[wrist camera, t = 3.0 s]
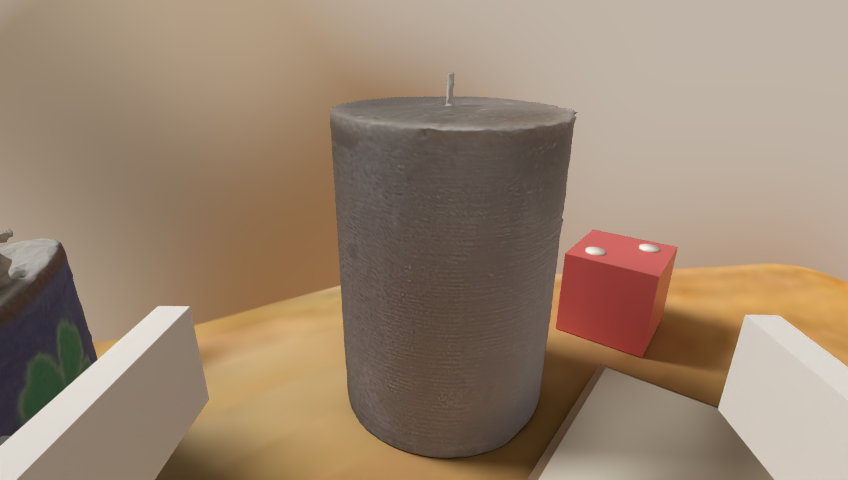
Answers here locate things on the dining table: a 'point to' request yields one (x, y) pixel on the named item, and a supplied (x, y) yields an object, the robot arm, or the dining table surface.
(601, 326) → the red die
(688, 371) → the dining table surface
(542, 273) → the pillar candle
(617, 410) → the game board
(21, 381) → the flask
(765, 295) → the dining table surface
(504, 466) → the dining table surface
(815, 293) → the dining table surface
